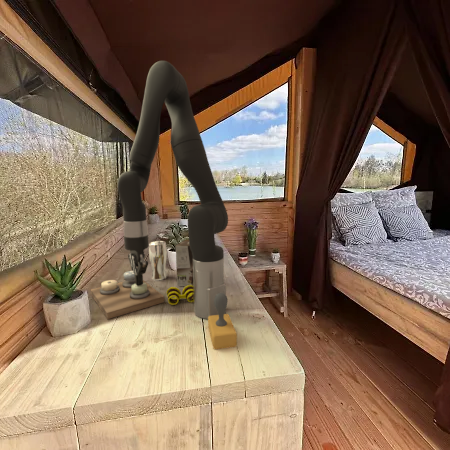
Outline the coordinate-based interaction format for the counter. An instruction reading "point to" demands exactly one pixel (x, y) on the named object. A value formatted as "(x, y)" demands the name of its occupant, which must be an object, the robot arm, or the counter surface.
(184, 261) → the coffee box
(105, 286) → the button
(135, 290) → the button
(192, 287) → the opera glasses
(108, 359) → the counter surface
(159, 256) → the beer glass
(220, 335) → the rubber stamp
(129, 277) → the button
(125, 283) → the button board
